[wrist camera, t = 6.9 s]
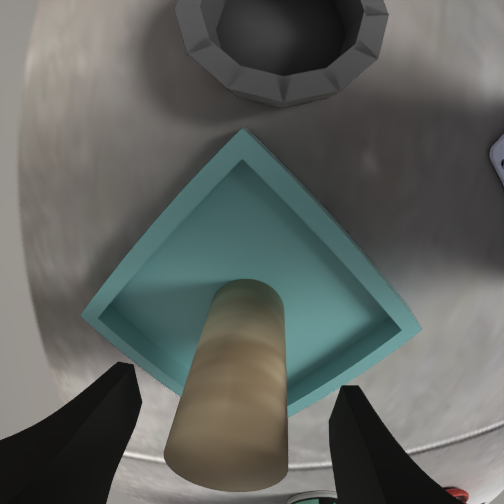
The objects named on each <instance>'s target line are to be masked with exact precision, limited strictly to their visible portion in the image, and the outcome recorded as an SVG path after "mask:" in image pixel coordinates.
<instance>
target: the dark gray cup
mask: <svg viewBox="0 0 504 504" xmlns="http://www.w3.org/2000/svg"><path fill="white" fill-rule="evenodd" d="M175 13H176V16H177V20H178V24H179V27H180V31H181V34H182V38H183V41H184V45H185V48H186V52H187V54H188V55H189V56H190V57H192V58H193V59H194V60H195V61H196V62H197V63H199V64H200V65H201V66H202V67H203V68H204V69H206V70H207V71H208V72H209V73H210V74H211V75H213V76H214V77H215V78H216V79H217V80H218V81H219V82H220V83H222V84H223V85H224V86H225V87H226V88H227V89H228V90H230V91H231V92H232V93H233V94H235V95H236V96H237V97H242V98H246V99H250V100H253V101H256V102H259V103H264V104H269V105H273V106H277V107H281V108H283V107H287V106H292V105H298V104H304V103H307V102H311V101H316V100H321V99H326V98H328V97H330V96H332V95H333V94H335V93H337V92H339V91H341V90H342V89H343V88H344V87H345V86H346V85H347V84H349V83H350V82H351V81H352V80H353V79H354V78H356V77H357V76H358V75H359V74H360V73H361V72H363V71H364V70H365V69H366V68H367V67H369V66H370V65H371V64H372V63H373V62H374V61H376V60H377V59H378V56H379V52H380V49H381V45H382V41H383V36H384V32H385V28H386V24H387V20H388V15H389V14H388V12H387V9H386V6H385V4H384V1H383V0H178V1H177V4H176V7H175Z"/></svg>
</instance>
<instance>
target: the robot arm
mask: <svg viewBox="0 0 504 504" xmlns="http://www.w3.org/2000/svg"><path fill="white" fill-rule="evenodd" d="M489 154H490V159H491V162H492V164H493V166H494V167H495V169H496V171H497V173H498V175H499V177H500V179H501V181H502V183H503V186H504V164H503V167H502V166H501V161H502V160H503V161H504V134H503V135H502V136H501V137H500V138H499V140H498V141H497V142H496V143H495V144H494V145H493V146H492V147H491V149H490V153H489ZM141 405H142V399H141V395H140V391H139V387H138V382H137V378H136V374H135V369H134V365H133V364H128V363H123V362H117V363H116V364H115V365H113V366H112V367H111V368H110V369H109V370H108V371H106V372H105V373H104V374H103V375H102V376H101V377H99V378H98V379H97V380H96V381H95V382H93V383H92V384H91V385H90V386H89V387H87V388H86V389H85V390H84V391H83V392H81V393H80V394H79V395H78V396H76V397H75V398H74V399H73V400H71V401H70V402H69V403H67V404H66V405H64V406H63V407H62V408H61V409H59V410H58V411H56V412H55V413H53V414H52V415H50V416H49V417H47V418H45V419H44V420H42V421H40V422H38V423H37V424H35V425H33V426H31V427H29V428H27V429H25V430H23V431H21V432H19V433H17V434H14V435H12V436H10V437H7V438H5V439H2V440H0V504H106V502H107V498H108V494H109V491H110V487H111V484H112V480H113V477H114V475H115V472H116V469H117V467H118V465H119V462H120V460H121V458H122V456H123V453H124V451H125V449H126V446H127V444H128V442H129V440H130V437H131V435H132V433H133V430H134V428H135V426H136V423H137V419H138V416H139V412H140V409H141ZM329 446H330V453H331V459H332V466H333V472H334V479H335V486H336V492H337V501H338V504H465V503H463V502H462V501H460V500H459V499H457V498H456V497H454V496H453V495H451V494H450V493H449V492H447V491H446V490H445V489H444V488H442V487H441V486H440V485H439V484H437V483H436V482H435V481H434V480H432V479H431V478H430V477H429V476H428V475H427V474H426V473H425V472H424V471H423V470H422V469H421V468H420V467H419V466H418V465H417V464H416V463H415V462H414V461H413V460H412V459H411V458H410V457H409V455H408V454H407V453H406V452H405V451H404V450H403V448H402V447H401V446H400V445H399V443H398V442H397V441H396V440H395V438H394V437H393V436H392V434H391V433H390V432H389V430H388V429H387V427H386V426H385V425H384V423H383V422H382V421H381V419H380V418H379V416H378V415H377V413H376V412H375V410H374V409H373V407H372V406H371V404H370V402H369V401H368V399H367V398H366V396H365V395H364V393H363V391H362V390H361V388H360V387H359V386H358V385H341V388H340V391H339V394H338V397H337V400H336V403H335V406H334V408H333V411H332V414H331V417H330V419H329Z"/></svg>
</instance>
